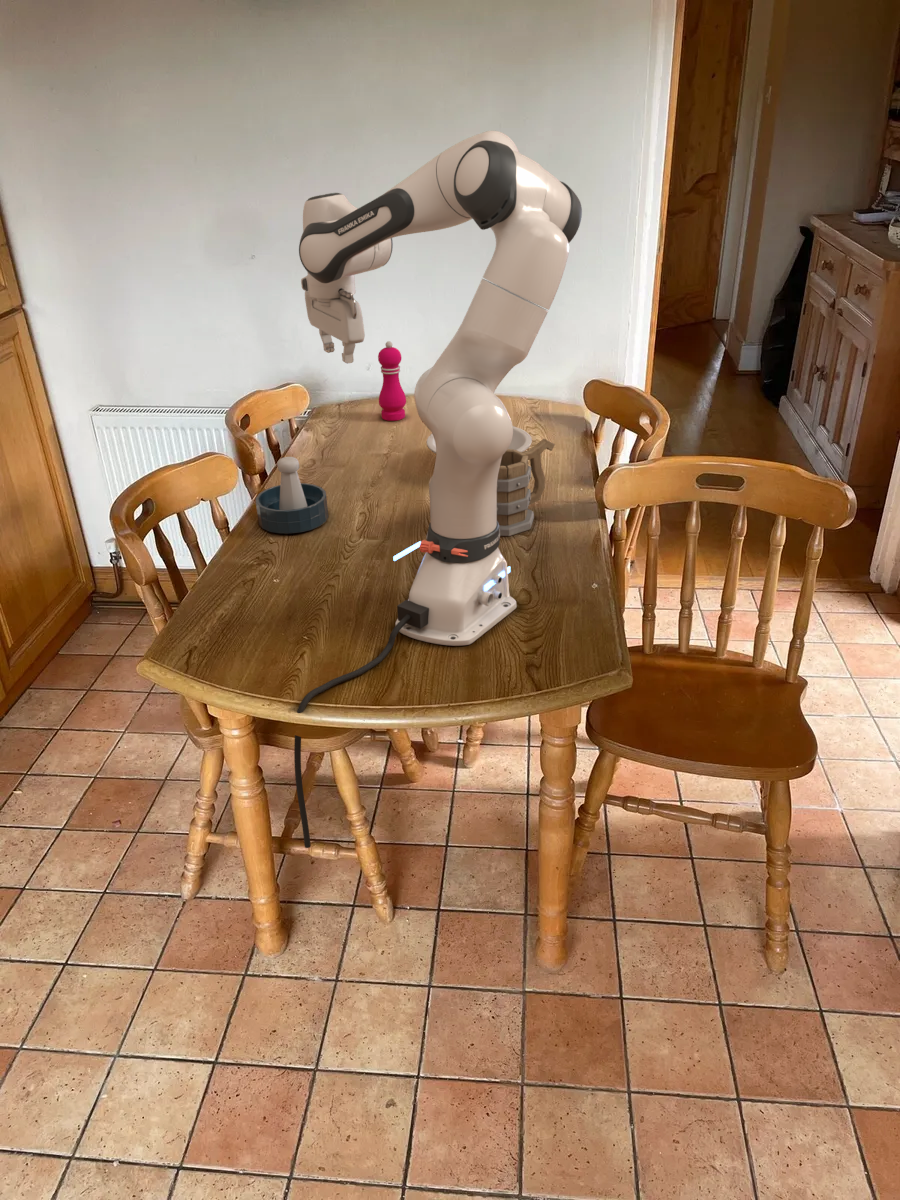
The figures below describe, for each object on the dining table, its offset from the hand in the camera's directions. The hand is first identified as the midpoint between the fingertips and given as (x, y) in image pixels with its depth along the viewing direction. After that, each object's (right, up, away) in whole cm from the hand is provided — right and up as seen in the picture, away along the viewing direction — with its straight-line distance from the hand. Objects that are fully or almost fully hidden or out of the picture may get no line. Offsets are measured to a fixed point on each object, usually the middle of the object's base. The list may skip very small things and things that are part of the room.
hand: (338, 357), depth 184 cm
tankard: (+36, -32, +5) cm, 48 cm away
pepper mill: (+7, +9, +57) cm, 58 cm away
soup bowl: (+29, -18, +30) cm, 45 cm away
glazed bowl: (-10, -32, +7) cm, 34 cm away
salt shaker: (-10, -32, +7) cm, 34 cm away
